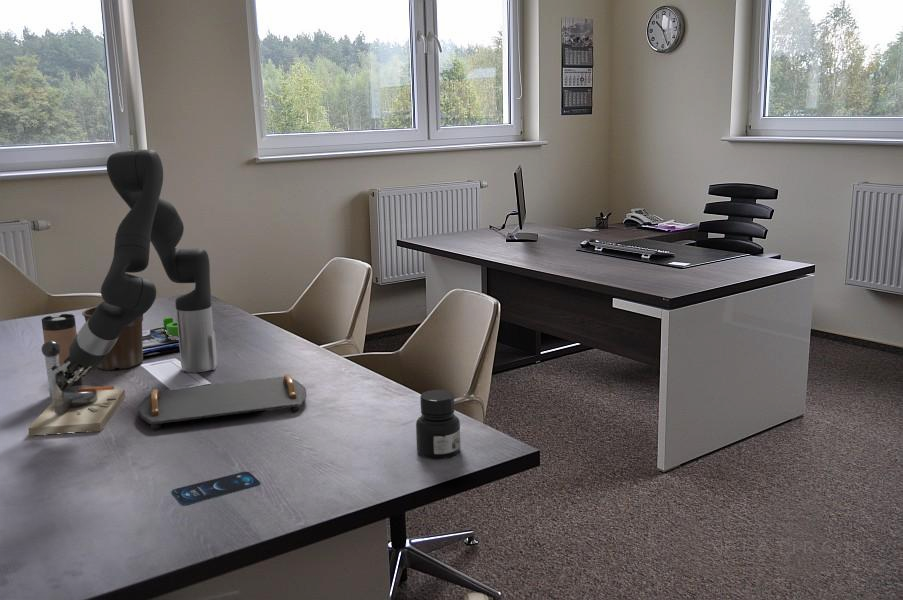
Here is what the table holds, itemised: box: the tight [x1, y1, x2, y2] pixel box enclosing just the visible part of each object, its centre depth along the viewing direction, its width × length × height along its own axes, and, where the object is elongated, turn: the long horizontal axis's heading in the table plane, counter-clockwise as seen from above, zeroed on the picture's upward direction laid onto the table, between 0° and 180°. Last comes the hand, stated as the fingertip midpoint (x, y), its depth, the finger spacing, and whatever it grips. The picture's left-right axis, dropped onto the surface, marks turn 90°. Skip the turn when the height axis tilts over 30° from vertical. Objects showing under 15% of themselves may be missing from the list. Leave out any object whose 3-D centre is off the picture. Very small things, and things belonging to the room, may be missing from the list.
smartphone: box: [171, 471, 262, 506], centre depth 157 cm, size 8×1×15 cm
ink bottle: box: [415, 389, 461, 459], centre depth 170 cm, size 10×9×12 cm
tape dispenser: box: [162, 315, 178, 336], centre depth 268 cm, size 15×7×5 cm, turn 26°
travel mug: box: [41, 313, 83, 387], centre depth 210 cm, size 8×8×20 cm
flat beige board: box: [27, 388, 126, 437], centre depth 197 cm, size 15×24×2 cm, turn 9°
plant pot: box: [81, 305, 144, 371], centre depth 236 cm, size 16×16×16 cm
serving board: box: [137, 373, 307, 431], centre depth 200 cm, size 39×23×6 cm, turn 108°
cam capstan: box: [41, 341, 115, 414], centre depth 196 cm, size 13×15×17 cm
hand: (62, 387), depth 189 cm, fingers closed
